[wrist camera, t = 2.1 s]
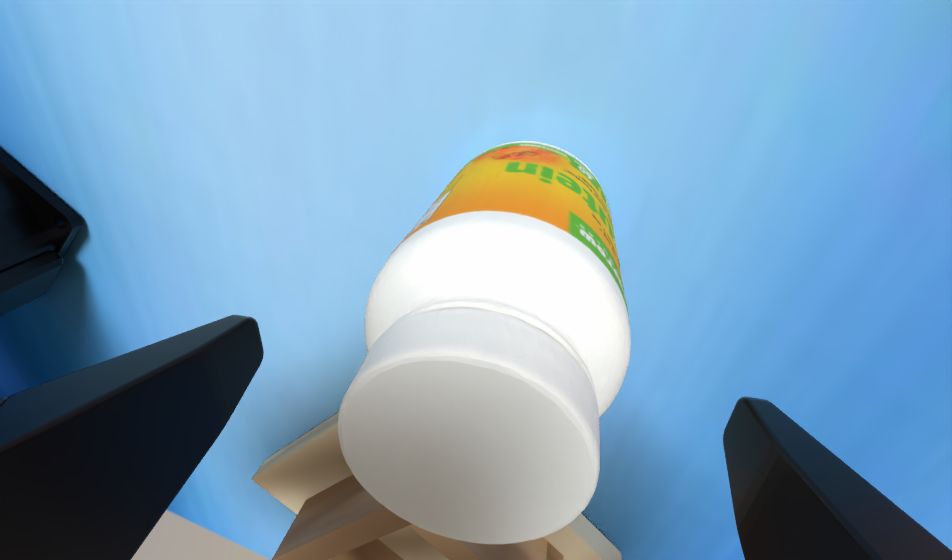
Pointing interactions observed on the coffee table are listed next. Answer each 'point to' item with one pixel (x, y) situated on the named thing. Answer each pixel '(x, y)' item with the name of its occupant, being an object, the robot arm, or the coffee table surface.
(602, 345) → the supplement bottle
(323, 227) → the coffee table surface
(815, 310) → the coffee table surface
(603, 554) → the collar board
